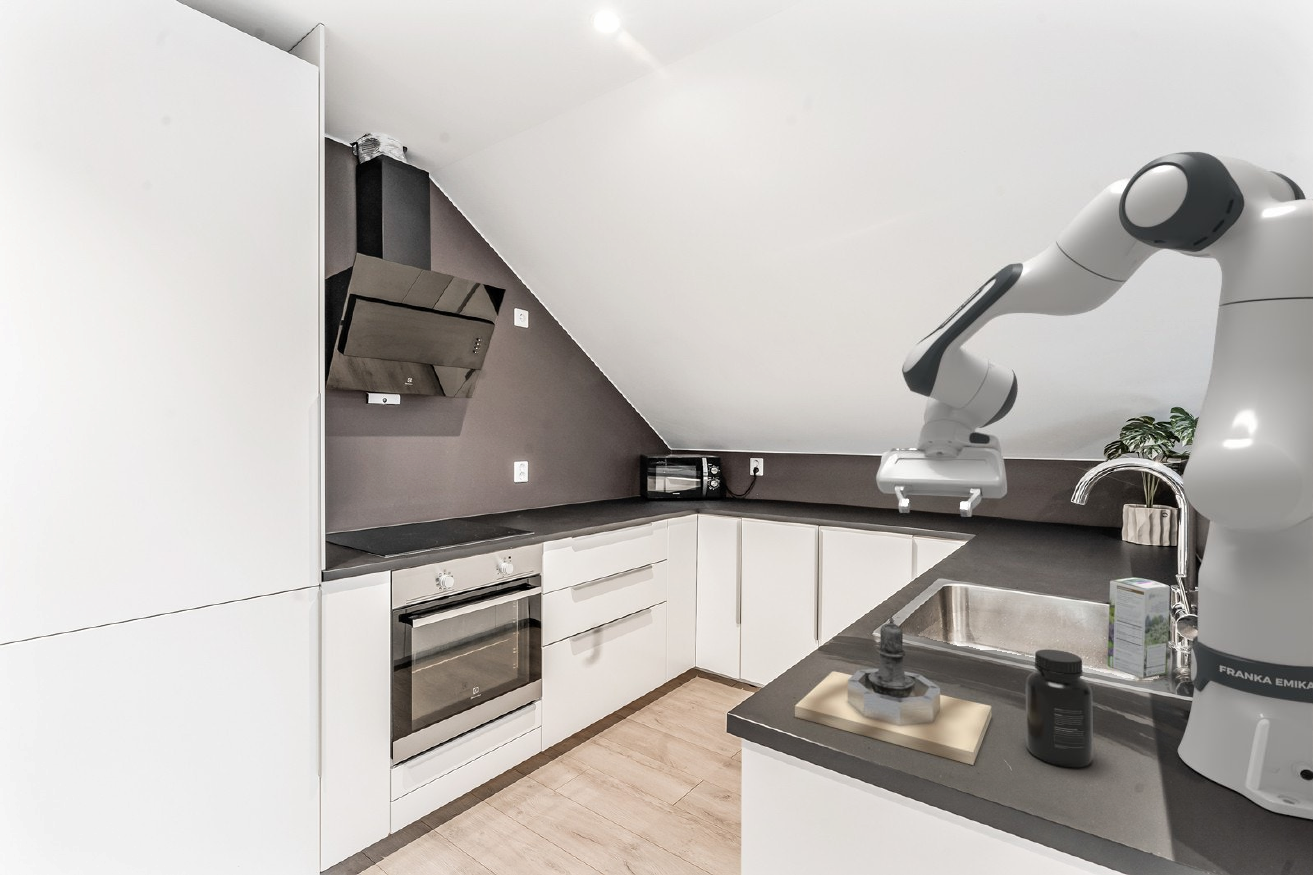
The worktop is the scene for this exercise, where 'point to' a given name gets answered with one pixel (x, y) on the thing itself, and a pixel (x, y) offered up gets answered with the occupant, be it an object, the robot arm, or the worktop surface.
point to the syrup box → (1138, 627)
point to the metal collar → (895, 700)
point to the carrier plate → (946, 737)
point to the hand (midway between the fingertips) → (933, 512)
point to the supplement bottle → (1059, 710)
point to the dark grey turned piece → (891, 664)
